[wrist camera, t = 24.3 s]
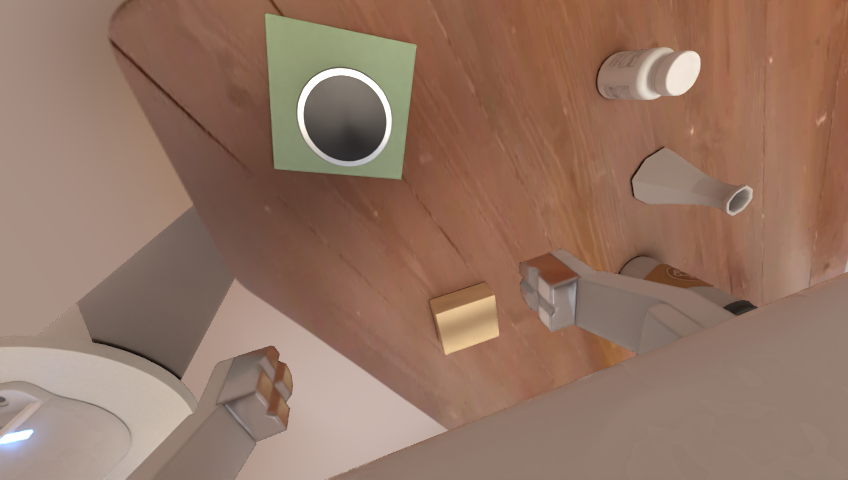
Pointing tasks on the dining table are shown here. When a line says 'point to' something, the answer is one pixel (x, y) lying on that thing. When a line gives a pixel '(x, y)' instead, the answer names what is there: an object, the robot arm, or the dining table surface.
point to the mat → (321, 49)
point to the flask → (685, 185)
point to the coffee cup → (684, 283)
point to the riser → (465, 317)
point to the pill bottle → (648, 73)
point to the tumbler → (344, 116)
